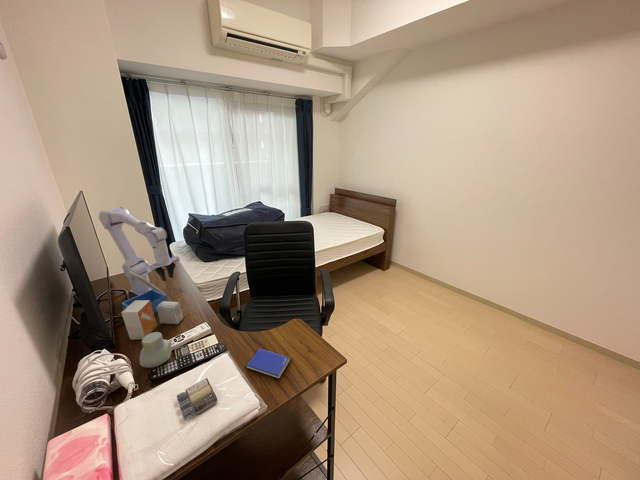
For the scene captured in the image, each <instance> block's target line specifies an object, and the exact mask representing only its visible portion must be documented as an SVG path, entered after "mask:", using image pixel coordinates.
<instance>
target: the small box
mask: <svg viewBox="0 0 640 480" xmlns="http://www.w3.org/2000/svg"><path fill="white" fill-rule="evenodd" d="M121 316H122V319H123V322H124V325H125V328H126V331H127V334H128V337H129V340H132V341H133V340H142V339H143V338H144V337H145V336H146V335H148V334H150V333H153V331H154V330H155V329H156V328H157V327H158V324H157V321H156V317H155V313H153V310H152V306H151V302H150V300H135V301H134V302H133V303H131V304H130V305H129V306H128V307H127V308H126V309H125V310H122V311H121Z"/></svg>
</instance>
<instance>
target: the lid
mask: <svg viewBox="0 0 640 480" xmlns="http://www.w3.org/2000/svg"><path fill="white" fill-rule="evenodd" d="M129 273H130V274H131V275H133V276H134V277H136V278H137V279H139V280H140V281H142V282H143V283H144V284H146V285H147V286H149V287H150V288H152V289H153V290H156V291H158V292H160V293H162V294H164V295H166V296H167V293H165V292H164V291H163V290H162V289H160V288H159V287H157V286H156V285H154V284H153V283H151V281H150V280H149V281H150V282H149V281H147V280H146V279H145V278H143V277H141V276H139V275H137V274H134V273H132V272H130V271H129Z"/></svg>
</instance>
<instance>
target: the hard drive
mask: <svg viewBox="0 0 640 480" xmlns="http://www.w3.org/2000/svg"><path fill="white" fill-rule="evenodd" d="M290 361H291V357H289V356H286V355H282V354H279V353H276V352H272V351H270V350H266V349H263V348H259V349H257V351H256V352H255V354H254V355H253V356H252V357H251V359H250V360H249V361H248V362H247V364H246V369H249V370H252V371H255V372H259V373H261V374H264V375H267V376H270V377H274V378H276V379H280V378H281V376H282V374H283V373H284V371H285V370H286V367H287V366H288V364H289V363H290Z"/></svg>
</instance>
